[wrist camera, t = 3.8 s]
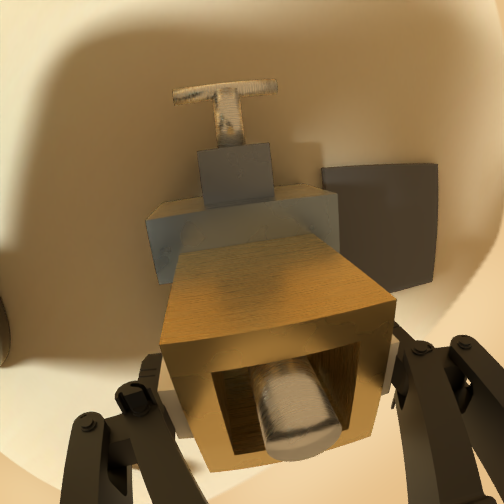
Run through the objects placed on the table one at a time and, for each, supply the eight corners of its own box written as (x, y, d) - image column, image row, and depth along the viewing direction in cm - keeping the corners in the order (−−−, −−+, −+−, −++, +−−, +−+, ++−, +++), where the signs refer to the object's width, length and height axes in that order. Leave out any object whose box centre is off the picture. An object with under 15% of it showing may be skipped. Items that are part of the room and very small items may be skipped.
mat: (327, 303, 24) (330, 307, 24) (321, 168, 21) (324, 168, 20) (428, 279, 26) (432, 281, 25) (433, 163, 22) (437, 164, 22)
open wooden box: (204, 362, 17) (210, 472, 10) (179, 253, 15) (159, 344, 8) (315, 341, 18) (370, 436, 11) (312, 233, 16) (396, 299, 8)
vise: (190, 338, 24) (190, 518, 9) (149, 104, 18) (32, 5, 3) (310, 317, 25) (403, 467, 10) (292, 88, 19) (444, -5, 4)
